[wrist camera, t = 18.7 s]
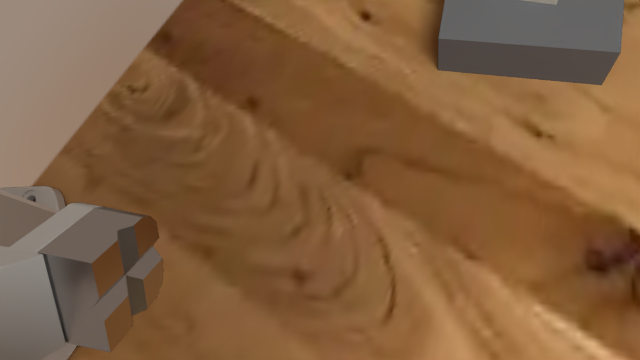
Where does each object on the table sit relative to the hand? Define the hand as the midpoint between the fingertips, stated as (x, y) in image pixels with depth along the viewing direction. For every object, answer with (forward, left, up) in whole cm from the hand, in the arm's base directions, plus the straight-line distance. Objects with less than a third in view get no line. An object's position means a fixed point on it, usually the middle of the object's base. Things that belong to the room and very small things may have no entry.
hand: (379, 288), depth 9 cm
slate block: (+4, +27, -32) cm, 42 cm away
